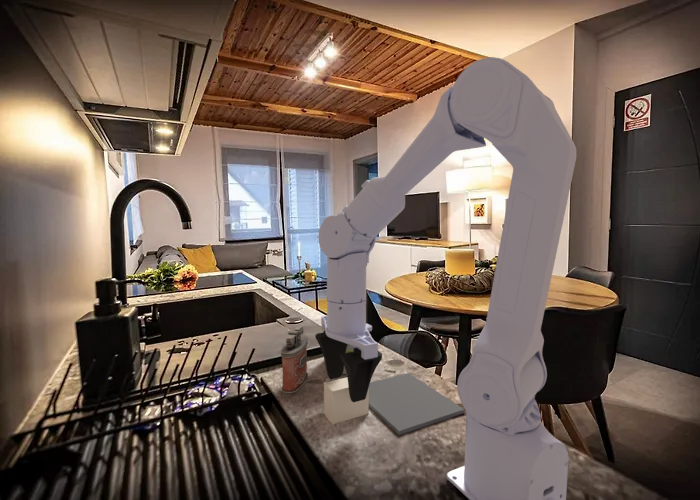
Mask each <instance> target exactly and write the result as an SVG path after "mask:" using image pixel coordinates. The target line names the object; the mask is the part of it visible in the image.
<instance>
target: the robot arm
mask: <svg viewBox="0 0 700 500" xmlns="http://www.w3.org/2000/svg"><path fill="white" fill-rule="evenodd" d="M437 103H438V104H437V105H436V109H435V111H434V114H433V116H432V117H431V118H430V120H429V121H428V123H427V124H426V125H425V126H424V128H423V129H422V130H421V131H420V133H419V134H417V136H416V138H415V139H414V140H413V141H412V143H410V145H409V146H408V148H407V149H406V150H405V152H404V153H403V154H402V155H401V157H399V159H398V160H397V162H396V163H395V164H394V165H393V167H392V168H391V169H390V171H388V173H387V174H386V175H385V176H375V177H372V178H371V179H370V180H369V179H366V180H365V181H364V182H363V183H362V184H361V188H362V189H361V190H360V191H359V193H357V195H356V196H355V197H354V198H353V199H352V200H351V202H350V203H349V204H348V205H345V206H344V207H343V209H342V210H341V211H342V212H339V213H338V214H337V215H329V216H327V217H324V219H323V222H322V223H321V224H320V227H319V230H318V244H319V248H320V249H321V251H322V253H323V254H324V255H325V256H326V310H327V311H326V315H322V316H321V317H320V318H321V319H320V321H321V323H320V324H321V325H320V326H321V329H322V330H323V332H318V333H316V334H315V340H316V342H317V343H318V345H319V347H320V350H321V353H322V356H323V360H324V365H325V369H326V373H327V376H328V379H329V381H330V380H331V381H332V380H336V379H338V378H339V379H341V378H342V377H343V375H344V374H343V370H344V366H345V369H346V373H347V374H346V377H347V378H348V387H349V395H350V399H351V401H352V402H357V401H361V400H365V399H366V395H367V392H368V388H369V384H370V382H372V381H371V380H372V379H373V375H374V373H375V371H376V369H377V367H378V365H379V364H380V363H381V361H382V360H383V354H382V352H380V351H379V343H378V342H377V341H375V340H374V338H373V337H372V335H371V333H370V332H372V330H373V326H372V325H371V324H369V323H368V322H367V323H366V289H367V266H368V264H369V263H370V253H371V252H372V250H373V249H374V248H375V244H376V239H377V236H378V235H379V234H381V232H382V231H383V230H384V229H385V228H386V227H387V226H389V224H390V223H391V222H392V221H393V220H395V218H397V216H399V214H401V213H402V212H403V210H404V209H405V207H406V195H407V194H408V193H409V192H410V191H412V190H413V189H414V188H415V187H417V185H418V184H419V183H420V182H422V180H424V179H425V178H426V177H427V176H428V175H429V174H430V173H431V172H433V171H434V170H435V169H436V168H437V167H438V166H439V165H441V164H442V163H443V162H444V161H445V160H446V159H447V158H448V157H450V155H452V154H453V153H454V152H458V151H465V150H471V149H479V148H483V147H486V146H487V143H486V141H485V140H487V141H488V142H490V143H491V144H492V146H493V147H494V148H495V150H497V152H498V153H500V154H501V156H502V157H503V158H504V159H505V160H506V161H507V162H508V163H509V164H510V166H511V167H512V173H511V174H512V175H511V179H510V181H511V182H510V185H509V186H510V187H509V190H508V198H507V203H506V208H505V215H504V220H503V226H502V231H501V237H500V241H499V242H500V243H499V247H498V248H499V249H498V253H497V260H496V264H495V269H494V270H495V271H494V276H493V281H492V285H491V286H492V287H491V293H490V299H489V304H488V310H487V315H486V320H485V324H484V326H483V328H482V330H481V332H480V333H479V335H478V337H477V339H476V341H475V343H474V345H473V347H472V352H471V357H470V360H469V362H468V363H467V365H466V366H465V367H464V368H463V369H462V371H461V372H460V374H459V376H458V378H457V384H456V385H457V387H456V388H457V395H458V399H459V401H460V403H461V405H462V406H463V409H464V410H466V411H465V414H466V415H465V439H464V441H465V443H464V444H465V445H464V465H463V466H460V467H458V468H456V469H453V470H451V471H449V472H447V473H446V478H447V480H448V481H449V482H450V483H451V484H453V486H455V488H457V489H458V490H459V491H460V492H461V493H462V494H463V495H464V496H465V497H466V498H467V499H468V500H567V490H568V489H567V487H568V476H569V475H568V473H569V454H568V450H567V447H566V446H565V444H564V443H563V442H561V441H560V440H559V439H557V438H556V437H555V436H554V435H553V434H552V433H551V432H549V430H548V429H547V428H546V426H544V424H543V422H542V421H541V415H542V414H541V413H540V408H539V406H538V403H537V400H536V399H535V398H536V395H537V393H539V392H540V391H541V390H542V389H543V388H544V386H545V384H546V382H547V377H548V373H547V372H548V371H547V366H546V363H545V361H544V356H543V348H544V344H545V343H544V342H545V340H544V335H543V333H542V325H543V320H544V315H545V310H546V304H547V301H548V296H549V290H550V285H551V282H552V281H551V280H552V276H553V271H554V266H555V262H556V258H557V253H558V249H559V243H560V239H561V238H560V237H561V233H562V229H563V228H562V227H563V224H564V220H565V216H566V215H565V214H566V209H567V204H568V199H569V195H570V190H571V185H572V181H573V176H574V172H575V167H576V161H577V147H576V145H575V142H574V140H573V139H572V136H571V135H570V133H569V132H568V130H567V127H566V126H565V124H564V122H563V120H562V118H561V116H560V114H559V113H558V111H557V108H556V107H555V103H554V101H553V100H552V99H551V98H550V97H548V96H547V95H546V94H544V93H543V92H542V91H541V90H540V89H539V88H538V86H537V85H536V84H535V83H534V82H533V80H532V79H531V78H530V77H529V76H528V75H527V74H525V73H524V72H523V71H521V70H520V69H518V68H517V67H516V66H514V65H513V64H511V63H510V62H509V61H507V60H506V59H504V58H501V57H495V56H490V57H483V58H481V59H478V60H476V61H474V62H472V63H470V65H468V66H467V67H466V68H465V69H463V71H462V72H461V73H460V74H459V76H458V77H457V78H456V81H454V84H453V86H452V85H451V86H450V87H448V89H447V90H445V91H444V92H443V93H442V94H441V95H440V98H439V101H438V102H437ZM348 344H349V345H351V346H352V347H353V348H354V352H348V353H346V348H347V345H348Z"/></svg>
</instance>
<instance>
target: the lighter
mask: <svg viewBox="0 0 700 500" xmlns="http://www.w3.org/2000/svg"><path fill="white" fill-rule="evenodd" d="M304 334H305V333H304V327H303V325H298V326H296V328H294V330H288V333H287V336H286V337H285V342H286V343H284V345H283V347H282V348H281V349H280V356H281V362H282V363H281V364H282V368H281V369H282V386H281V395H282V396H283V397H284V398H293V397H296V396H297V395H298V394H299V393H301V392H302V390H303V389H304V388H305V387H306V385H307V383H308V380H309V373H308V371H307V370H308V363H307V362H308V361H307V360H308V355H307V354H308V353H307V351H308V350H307V349H308V348H307V347H308V346H307V345H308V343H309V341H308V338H307V337H305V336H302V335H304Z"/></svg>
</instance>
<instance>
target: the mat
mask: <svg viewBox="0 0 700 500" xmlns="http://www.w3.org/2000/svg"><path fill="white" fill-rule="evenodd" d="M369 409H370V410H371V411H372V412H374V413H375V415H376V416H378V417H379V418H380V419H381V420H382V421H383V422H384V423H385V424H387V425H388V427H389V428H391V429H392V430H393V431H394V432H395V433H396V434H397V435H398V436H401V435H403V434H407V433H410V432H412V431H415V430H419V429H422V428H424V427H427V426H430V425H434V424H436V423H439V422H442V421H444V420H445V421H446V420H448V419H451V418H454V417H457V416H460V415H462V414H464V413H465V408H464V407H462V406H460V405H459V404H457V403H456V402H454V401H453V400H451V399H449V398H447V397H446V396H445V395H443V394H441V393H440V392H438V391H437V390H436V389H435V388H433V387H431V386H429V385H428V384H426V383H425V382H423V381H422V380H420V379H419V378H417V377H415V375H413V374H411V373H409V372H407V373H403V374H399V375H395V376H391V377H386V378H383V379H379V380H375V381H370V384H369Z"/></svg>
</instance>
